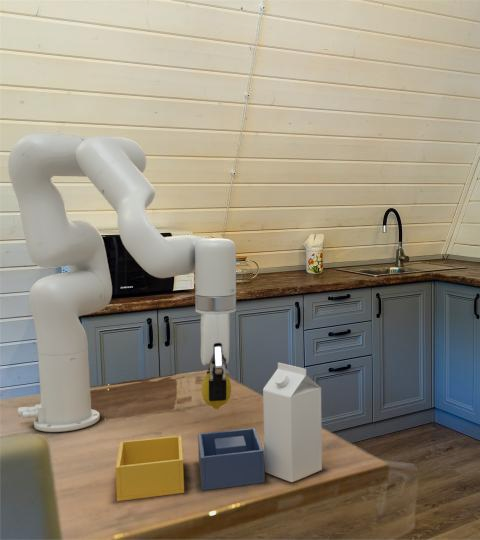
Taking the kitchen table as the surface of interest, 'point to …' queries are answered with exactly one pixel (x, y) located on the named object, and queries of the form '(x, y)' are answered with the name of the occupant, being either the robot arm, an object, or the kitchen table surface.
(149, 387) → the kitchen table surface
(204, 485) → the blue bin
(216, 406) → the lemon
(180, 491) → the yellow bin
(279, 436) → the milk carton
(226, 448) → the blue block
